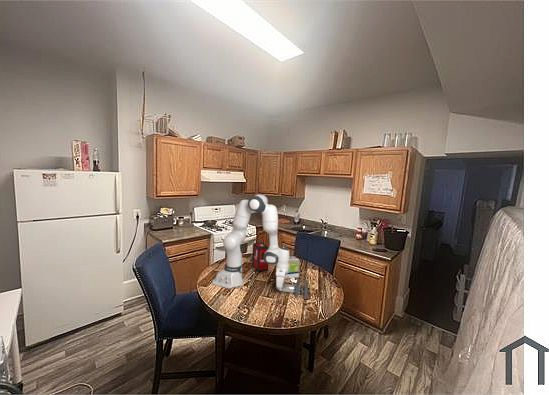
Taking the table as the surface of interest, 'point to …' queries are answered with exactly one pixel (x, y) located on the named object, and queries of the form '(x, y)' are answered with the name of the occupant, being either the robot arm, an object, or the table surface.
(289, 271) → the tea box
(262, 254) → the cleaning product box
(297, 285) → the collars
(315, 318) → the table surface
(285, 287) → the tube
